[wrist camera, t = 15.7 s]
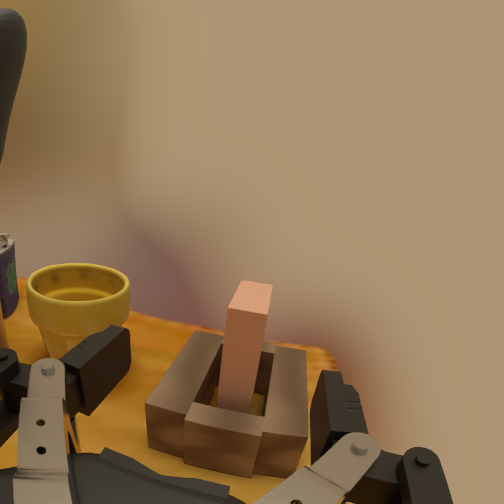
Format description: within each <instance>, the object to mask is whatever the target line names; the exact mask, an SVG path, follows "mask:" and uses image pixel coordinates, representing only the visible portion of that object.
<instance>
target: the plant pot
mask: <svg viewBox="0 0 504 504" xmlns="http://www.w3.org/2000/svg"><path fill="white" fill-rule="evenodd" d="M26 290H27V301H28V308H29V314H30V317H31V319H32V321H33V322H34V323H35V325H36V326H38V327H39V330H40V332H41V335H42V338H43V341H44V343H45V346H46V348H47V351H48V354H49V356H50V358H53V359H57V360H58V359H59V358H61V357H62V356H63V355H65V354H66V353H67V352H68V351H70V350H71V349H72V348H74V347H75V346H77V344H79V343H80V342H82V341H83V340H84V339H85V338H87V337H88V336H89V335H92V334H94V333H97V332H102V331H104V330H105V329H106V328H107V327H109V326H110V325H112V324H113V325H117V326H120V327H121V325H122V324H123V323H124V322H125V321H126V320H127V318H128V315H129V303H130V283H129V280H128V278H127V277H126V276H125V275H124V274H123V273H121V272H119V271H117V270H115V269H112V268H109V267H105V266H101V265H95V264H85V263H68V264H58V265H52V266H48V267H45V268H42V269H39V270H37V271H35V272H34V273H33V274H31V275H30V276H29V278H28V280H27V283H26Z"/></svg>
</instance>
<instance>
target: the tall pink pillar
mask: <svg viewBox="0 0 504 504" xmlns="http://www.w3.org/2000/svg"><path fill="white" fill-rule="evenodd" d="M272 286H273V285H268V284H262V283H256V282H250V281H245V280H242V281H241V283H240V285H239V287H238V289H237V291H236V293H235V295H234V297H233V299H232V301H231V303H230V305H229V307H228V311H227V320H226V328H225V336H224V344H223V353H222V361H221V370H220V379H219V387H218V396H217V405H216V407H217V408H221V409H226V410H231V411H236V412H241V413H246V414H249V412H250V407H251V402H252V397H253V392H254V387H255V382H256V376H257V371H258V366H259V360H260V355H261V349H262V344H263V338H264V333H265V327H266V321H267V316H268V310H269V304H270V298H271V292H272Z"/></svg>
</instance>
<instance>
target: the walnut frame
mask: <svg viewBox="0 0 504 504" xmlns="http://www.w3.org/2000/svg"><path fill="white" fill-rule="evenodd" d="M223 344H224V336H221V335H216V334H211V333H206V332H202V331H197V330H195V331H194V333H193V334H192V335H191V337H190V338H189V340H188V341H187V343H186V344H185V345H184V347H183V348H182V350H181V351H180V353H179V354H178V355H177V357H176V358H175V360H174V361H173V363H172V364H171V366H170V367H169V368H168V370H167V371H166V373H165V374H164V376H163V377H162V379H161V380H160V381H159V383H158V384H157V386H156V387H155V389H154V390H153V391H152V393H151V394H150V396H149V397H148V399H147V400H146V402H145V411H146V423H147V433H148V443H149V447H150V448H153V449H156V450H159V451H162V452H165V453H169V454H172V455H175V456H179V457H182V458H184V463H186V464H190V465H193V466H197V467H201V468H205V469H209V470H214V471H218V472H223V473H227V474H232V475H237V476H243V477H248V478H251V475H252V473H254V474H260V475H267V476H274V477H282V478H288V477H290V476H291V475H292V474H293V473H294V471H295V469H296V467H297V464H298V462H299V459H300V457H301V454H302V452H303V449H304V447H305V444H306V442H307V439H308V398H307V366H306V350H299V349H293V348H286V347H280V346H275V345H276V343H271V342H265V341H263V344H262V349H261V355H260V360H259V366H258V371H257V376H256V382H255V387H254V392H256V393H261V394H266V395H265V401H264V407H263V413H262V416H257V415H251V414H246V413H241V412H236V411H231V410H226V409H221V408H217V407H213V406H208V404H209V402H210V400H211V397H212V395H213V392H214V390H215V388H216V385H219V379H220V370H221V361H222V353H223Z"/></svg>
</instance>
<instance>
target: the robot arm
mask: <svg viewBox="0 0 504 504" xmlns="http://www.w3.org/2000/svg"><path fill="white" fill-rule="evenodd" d="M26 46H27V32H26V27H25V23H24V20H23V18H22V17H21V16H20V15H19V14H18V13H17V12H16V11H14V10H11V9H6V8H4V9H0V163H1V159H2V156H3V151H4V145H5V140H6V134H7V129H8V124H9V119H10V115H11V111H12V107H13V103H14V99H15V96H16V92H17V88H18V85H19V81H20V78H21V74H22V69H23V65H24V60H25V54H26ZM130 364H131V349H130V332H129V330H128V329H127V328H123V327H120V326H117V325H113V324H112V325H110V326H109V327H107V328H106V329H105V330H104V331H102V332H97V333H94V334H92V335H89V336H88V337H87V338H85V339H84V340H83V341H82V342H80V343H79V344H77V346H75V347H74V348H72V349H71V350H70V351H68V352H67V353H66V354H65V355H63V356H62V357H61V358H59V359H58V360H57V359H53V358H44V359H40V360H38V361H36V362H34V363H33V365H28V364H24V363H19V361H18V357H17V354H16V352H15V351H13V350H12V349H9V345H8V341H7V336H6V330H5V325H4V320H3V314H2V308H1V302H0V397H1V399H0V447H1V446H2V445H3V444H4V443H5V442H6V441H7V440H8V439H9V437H10V436H11V435H12V434H13V433H14V432H15V431H16V430H17V429H18V447H17V467H11V468H6V469H0V504H246V503H244V502H243V501H241V500H239V499H237V498H235V497H233V496H231V495H229V489H230V486H227V485H222V484H218V483H213V482H209V481H205V480H201V479H196V478H183V477H172V476H164V475H160V474H158V473H156V472H154V471H153V470H151V469H149V468H148V467H146V466H144V465H143V464H141V463H139V462H138V461H136V460H135V459H133V458H131V457H128V456H125V455H123V454H120V453H118V452H115V451H113V450H111V449H108V448H106V447H105V448H104V449H103V451H102V452H101V454H95V453H81V449H80V443H79V435H78V428H77V420H76V416H75V415H76V414H77V413H78V412H81V413H83V414H85V415H87V416H90V414H91V413H92V412H93V411H94V410H95V409H96V408H97V406H98V405H99V404H100V403H101V402H102V401H103V400H104V398H105V397H106V396H107V395H108V394H109V393H110V392H111V390H112V389H113V388H114V387H115V386H116V385H117V384H118V382H119V381H120V380H121V379H122V378H123V377H124V376H125V375H126V373H127V372H128V370H129V368H130ZM310 435H311V467H309V468H308V467H306V466H303V467H301V468H300V469H298V470H297V471H296V472H295V473H293V474H292V475H291V476H290V477H288V478H287V479H286V480H284V481H283V482H282V483H280V484H279V485H278V486H276V487H275V488H274V489H272V490H271V491H270V492H268V493H267V494H266V495H264V496H263V497H261V498H260V499H258V500H257V501H256V502H254V503H253V504H346V503H347V502H351V503H354V504H453V501H452V498H451V494H450V491H449V488H448V485H447V481H446V478H445V475H444V472H443V469H442V466H441V463H440V460H439V458H438V456H437V455H436V454H435V453H434V452H432V451H431V450H429V449H427V448H423V447H414V448H411V449H409V450H407V451H406V452H405V454H404V455H403V456H402V455H397V454H393V453H389V452H385V451H383V450H381V448H380V445H379V443H378V441H377V440H376V439H374V438H373V437H372V436H370V435H368V431H367V426H366V422H365V418H364V414H363V411H362V406H361V404H360V398H359V394H358V392H357V391H356V390H355V389H354V388H353V386H352V385H344V384H343V379H342V375H341V372H338V371H329V370H322V371H321V373H320V376H319V380H318V383H317V386H316V389H315V393H314V396H313V399H312V403H311V408H310Z"/></svg>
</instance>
